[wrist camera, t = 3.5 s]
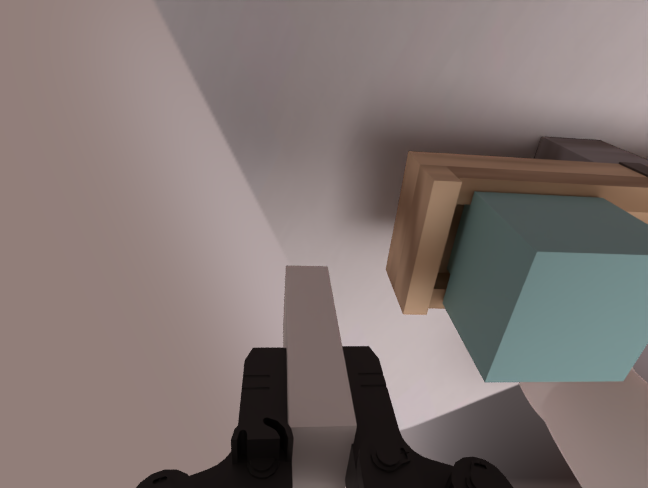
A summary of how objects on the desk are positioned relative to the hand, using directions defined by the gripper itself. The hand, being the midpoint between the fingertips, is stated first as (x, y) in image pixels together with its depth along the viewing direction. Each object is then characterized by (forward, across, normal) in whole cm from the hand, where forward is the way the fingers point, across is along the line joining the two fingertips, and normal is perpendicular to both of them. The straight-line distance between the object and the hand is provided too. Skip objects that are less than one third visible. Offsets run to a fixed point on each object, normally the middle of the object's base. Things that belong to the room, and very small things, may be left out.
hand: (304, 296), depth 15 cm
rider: (+5, +10, 0) cm, 11 cm away
